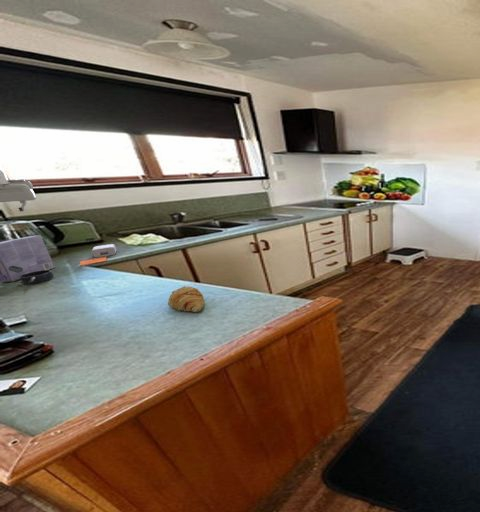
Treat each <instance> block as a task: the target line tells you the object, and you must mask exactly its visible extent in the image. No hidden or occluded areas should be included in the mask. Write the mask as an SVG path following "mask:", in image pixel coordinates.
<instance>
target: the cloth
mask: <svg viewBox="0 0 480 512" xmlns="http://www.w3.org/2000/svg"><path fill="white" fill-rule="evenodd" d="M107 257H108V256H103V257H95V258H90V259H84V260H80V262H79V266H78V267H82V266H81V265H84V266H88V265H87V264H89V265H94V264H100V263H105V262H107Z"/></svg>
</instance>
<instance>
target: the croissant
mask: <svg viewBox="0 0 480 512" xmlns="http://www.w3.org/2000/svg"><path fill="white" fill-rule="evenodd" d="M167 306H169V308H171V309H173V310H176V311H180V310H182V311H183V310H184V311H183V312H192V313H198V312H200V311H201V310H203V308H204V306H205V299H204V296H203V294H202V292H201V291H200V290H199V289H198V288H195V287H194V286H182V287H180V288H178V289H176V290H172V292H171V294H170V296H169V297H168V301H167Z"/></svg>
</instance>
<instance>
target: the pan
mask: <svg viewBox="0 0 480 512" xmlns="http://www.w3.org/2000/svg"><path fill="white" fill-rule="evenodd" d="M32 277H36V279H35V280H34V282H33V283H29V281H30V279H31V278H32ZM54 278H55V276H54V273H53V272H52V269H50V270H42V271H36V272H31V273H27V274H24V275H22V276H20V279H19V280H20V281H21V284H23V285H26V284H27V285H36V283H37V284H41V283H44V282H48V281H50V280H53V279H54Z"/></svg>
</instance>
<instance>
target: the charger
mask: <svg viewBox="0 0 480 512" xmlns="http://www.w3.org/2000/svg"><path fill="white" fill-rule="evenodd" d="M91 253H92V256H93V258H101V257H108V256H114V255H116V254H117V247H116V244H113V243H110V244H101V245H97V246H94V247H92V250H91Z"/></svg>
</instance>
